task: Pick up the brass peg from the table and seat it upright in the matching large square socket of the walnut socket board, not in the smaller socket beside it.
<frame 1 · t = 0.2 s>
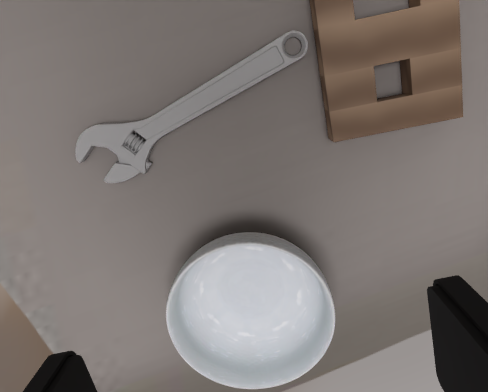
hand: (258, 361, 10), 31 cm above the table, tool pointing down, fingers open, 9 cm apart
cereal bowl: (250, 284, 45), on the table
adjustable wrench: (193, 113, 39), on the table
socket board: (379, 30, 36), on the table
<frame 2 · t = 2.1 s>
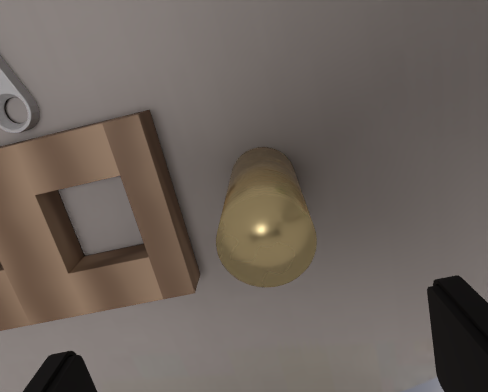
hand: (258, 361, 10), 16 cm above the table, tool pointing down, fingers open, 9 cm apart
brass peg: (262, 178, 26), on the table
socket board: (54, 224, 27), on the table
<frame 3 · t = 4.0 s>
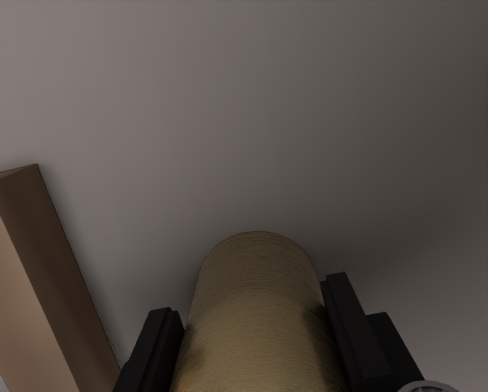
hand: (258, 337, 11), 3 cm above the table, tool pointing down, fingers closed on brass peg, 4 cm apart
brass peg: (256, 285, 14), on the table, touching gripper
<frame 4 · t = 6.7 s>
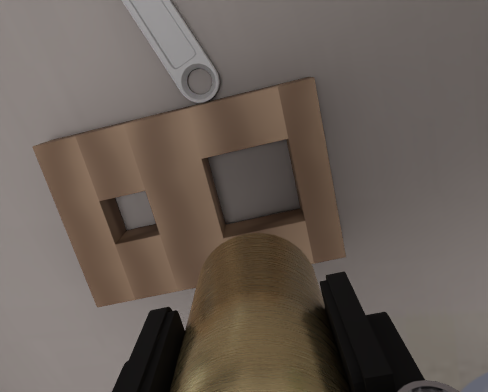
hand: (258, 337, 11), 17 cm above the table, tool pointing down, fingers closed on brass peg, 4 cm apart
brass peg: (257, 287, 14), point 14 cm above the table, touching gripper
socket board: (199, 192, 28), on the table
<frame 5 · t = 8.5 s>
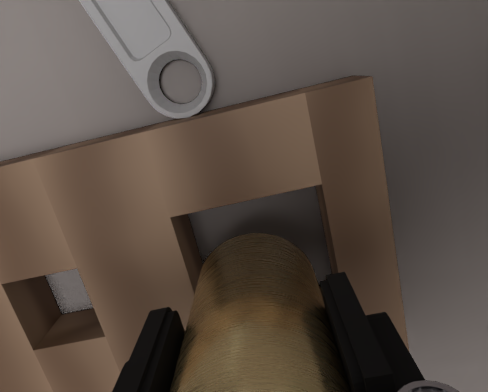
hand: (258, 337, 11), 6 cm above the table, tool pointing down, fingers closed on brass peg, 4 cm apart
brass peg: (257, 287, 14), point 3 cm above the table, touching gripper
socket board: (174, 259, 17), on the table
when the fingers open (4 cm above the table, at t = 9.7 s): brass peg drops 1 cm, resting in socket board.
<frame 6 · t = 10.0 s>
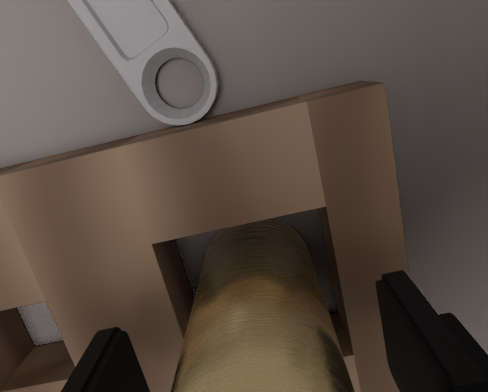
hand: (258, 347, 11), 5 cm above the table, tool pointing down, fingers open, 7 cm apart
brass peg: (257, 266, 15), resting in socket board
socket board: (159, 286, 16), on the table
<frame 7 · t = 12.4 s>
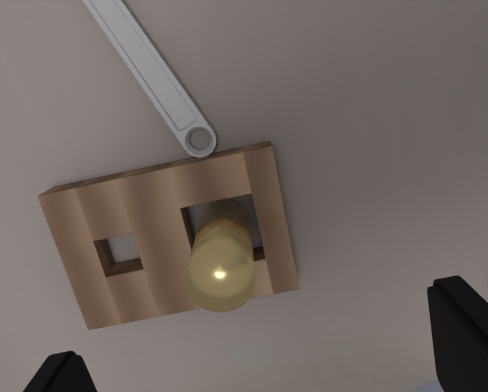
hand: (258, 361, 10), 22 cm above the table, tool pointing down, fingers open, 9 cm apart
adjustable wrench: (103, 12, 29), on the table
brass peg: (225, 223, 33), resting in socket board
socket board: (178, 232, 33), on the table
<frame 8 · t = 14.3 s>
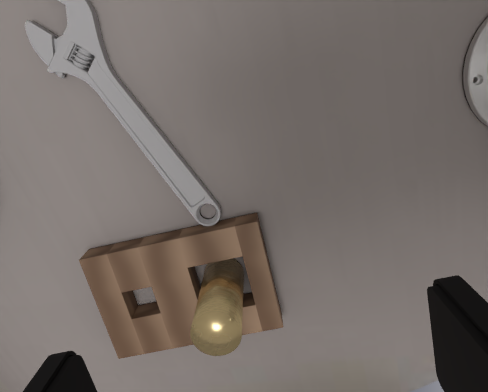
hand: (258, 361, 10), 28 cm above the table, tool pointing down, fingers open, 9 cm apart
adjustable wrench: (130, 119, 37), on the table
brass peg: (224, 274, 41), resting in socket board
socket board: (187, 281, 42), on the table
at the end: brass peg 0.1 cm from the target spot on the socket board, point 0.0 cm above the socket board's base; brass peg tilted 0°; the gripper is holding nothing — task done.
